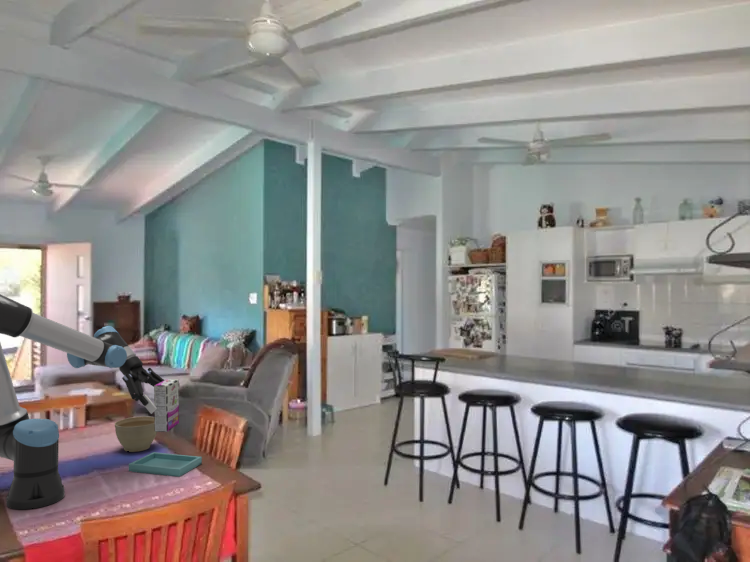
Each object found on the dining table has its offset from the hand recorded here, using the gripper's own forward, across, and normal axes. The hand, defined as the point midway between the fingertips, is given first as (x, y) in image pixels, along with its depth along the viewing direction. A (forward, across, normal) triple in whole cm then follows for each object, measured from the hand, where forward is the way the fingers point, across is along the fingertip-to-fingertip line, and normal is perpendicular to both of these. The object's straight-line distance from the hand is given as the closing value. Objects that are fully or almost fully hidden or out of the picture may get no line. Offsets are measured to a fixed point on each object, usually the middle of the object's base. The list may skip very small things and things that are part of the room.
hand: (164, 407), depth 201 cm
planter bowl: (-1, -16, -32) cm, 35 cm away
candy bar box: (+6, 0, -5) cm, 8 cm away
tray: (+16, 0, -14) cm, 21 cm away
